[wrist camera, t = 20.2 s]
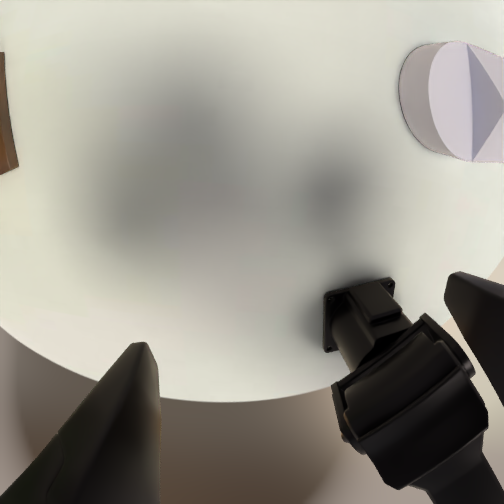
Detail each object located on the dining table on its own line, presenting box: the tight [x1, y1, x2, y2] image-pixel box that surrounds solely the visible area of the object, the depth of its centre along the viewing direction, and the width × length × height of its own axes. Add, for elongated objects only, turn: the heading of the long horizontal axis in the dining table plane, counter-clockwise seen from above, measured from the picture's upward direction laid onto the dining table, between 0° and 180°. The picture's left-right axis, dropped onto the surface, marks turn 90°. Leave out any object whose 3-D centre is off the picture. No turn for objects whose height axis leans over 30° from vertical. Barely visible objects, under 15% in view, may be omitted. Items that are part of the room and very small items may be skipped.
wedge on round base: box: [399, 41, 504, 163], centre depth 15 cm, size 9×7×13 cm
